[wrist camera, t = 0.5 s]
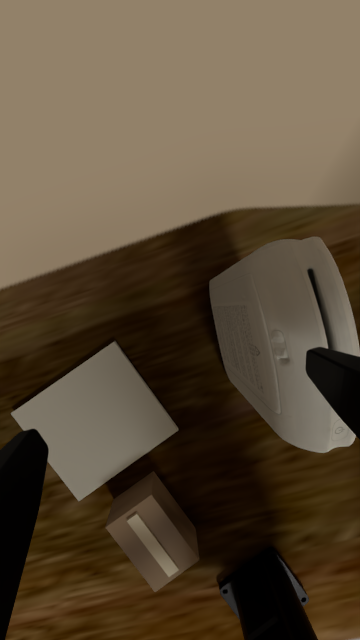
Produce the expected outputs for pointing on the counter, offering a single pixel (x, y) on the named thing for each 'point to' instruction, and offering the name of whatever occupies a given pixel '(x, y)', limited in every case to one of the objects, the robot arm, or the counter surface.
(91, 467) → the mat
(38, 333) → the counter surface
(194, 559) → the ridged brown block
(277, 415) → the photo printer
